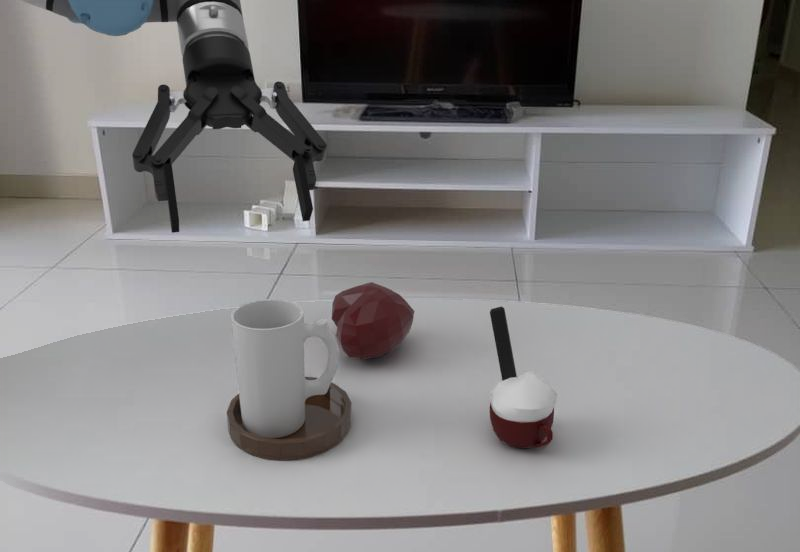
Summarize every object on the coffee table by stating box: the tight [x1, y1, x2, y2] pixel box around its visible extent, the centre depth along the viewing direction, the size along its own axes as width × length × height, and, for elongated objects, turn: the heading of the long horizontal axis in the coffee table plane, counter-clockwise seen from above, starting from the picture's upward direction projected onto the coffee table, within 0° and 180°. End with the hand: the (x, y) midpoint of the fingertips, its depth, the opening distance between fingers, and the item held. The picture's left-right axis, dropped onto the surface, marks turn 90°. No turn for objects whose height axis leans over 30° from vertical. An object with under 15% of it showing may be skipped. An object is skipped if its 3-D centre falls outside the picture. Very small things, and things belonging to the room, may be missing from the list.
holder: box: [226, 375, 353, 461], centre depth 75 cm, size 12×12×2 cm
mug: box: [230, 298, 340, 438], centre depth 73 cm, size 10×7×12 cm, turn 100°
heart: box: [331, 281, 415, 360], centre depth 90 cm, size 12×8×10 cm
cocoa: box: [489, 306, 557, 449], centre depth 72 cm, size 10×6×12 cm, turn 4°
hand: (243, 221), depth 78 cm, fingers open, 13 cm apart
